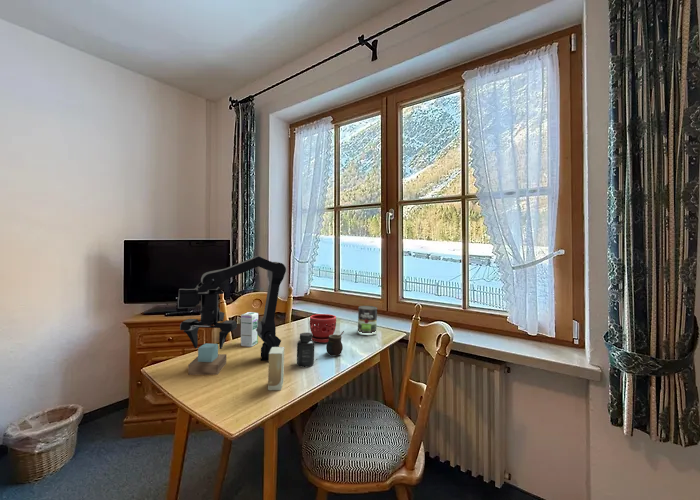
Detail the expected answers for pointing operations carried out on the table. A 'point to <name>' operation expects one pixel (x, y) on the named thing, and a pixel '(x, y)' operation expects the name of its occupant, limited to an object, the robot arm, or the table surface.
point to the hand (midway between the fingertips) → (208, 348)
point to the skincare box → (276, 368)
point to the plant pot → (322, 327)
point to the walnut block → (207, 366)
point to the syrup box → (249, 329)
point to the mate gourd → (334, 345)
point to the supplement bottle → (305, 350)
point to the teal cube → (207, 352)
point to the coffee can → (367, 319)
